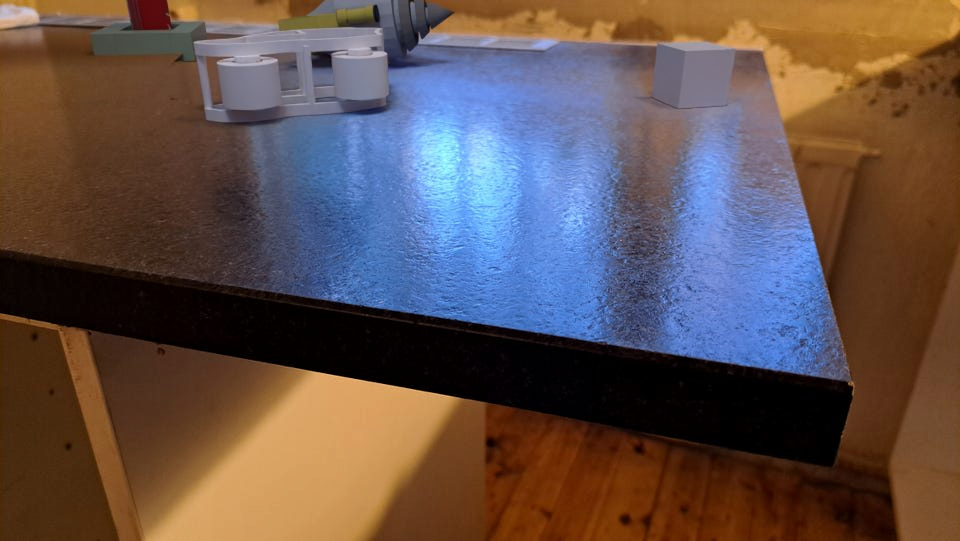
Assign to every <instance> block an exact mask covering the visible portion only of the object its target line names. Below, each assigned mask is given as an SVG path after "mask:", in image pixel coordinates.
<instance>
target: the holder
mask: <svg viewBox="0 0 960 541" xmlns="http://www.w3.org/2000/svg"><path fill="white" fill-rule="evenodd" d="M171 25H172V30H133V31H132V27H131V22H114V23H111V24H108V25H107V26H105V27H102V28H100V29H97V30H96V31H92V32H90V33H89V38H90V42H91V47H92V51H93V56H94V57H95V56H97V57H98V56H100V57H101V56H140V55H141V56H142V55H146V56H147V55H179V56H178V57H177V58H176V59H174V61H173V62H174V63H176V62H177V61H183V62H196V61H197V60H196V59H197V58H196V55H195V49H194V43H193V42H196V41H202V40H209V39H208V32H207V27H206V21H204V20H203V21H202V20H201V21H171ZM195 60H196V61H195Z"/></svg>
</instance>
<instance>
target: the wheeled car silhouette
mask: <svg viewBox="0 0 960 541" xmlns="http://www.w3.org/2000/svg"><path fill="white" fill-rule="evenodd" d="M193 43H194V49H195V55H196V58H197V60H196V64H197V68H198V74H199V75H198V76H199V80H200V88H201V93H202V100H203V106H204V109H203V110H204V115H205V116H204V117H205V120H206V121H209V122H210V121H211V122H216V123H248V122H260V121H261V122H262V121H269V120H270V121H271V120H275V119H281V118H287V117H299V116H300V117H301V116H315V115H316V116H317V115H318V116H319V115H330V114H331V115H332V114H341V113H342V114H343V113H352V112H357V111H363V110H369V109H375V108H382V107H385V106H387V97H388V96H389V95H390V82H389V81H390V80H389V64H388V58H387V53H386V52H384V36H383V28H351V27H348V28H323V29H302V30H290V31H280V30H275V31H269V32H263V33H255V34H248V35H243V36H239V37H230V38H218V39H217V38H215V39H208V40H202V41H196V42H193ZM376 46H377V51H376V50H371V48H369V47H376ZM334 50H347V51H340V52H335V53H333V54H331V55H330V57H331V68H332V69H331V70H332V82H333V85H328V86H327V85H326V86H315V85H314V84H315V83H314V73H313V62H312V53H311V52H314V51H334ZM285 53H286V54H288V53H295V61H296V62H295V64H296V72H297V81H298V88H296V89H288V90H282V86H281V85H282V84H281V74H280V67H279V59H277V58H276V57H271V56H264V55H273V54H285ZM262 55H263V56H262ZM206 57H211V58H212V57H213V58H214V57H215V58H219V57H220V58H223V59H219V60H217V61H216V68H217V75H218V82H219V88H220V95H221V101H222V103H217V104H214V102H213V96H212V91H211V84H210V83H211V82H210V78H209V72H208V71H209V70H208V64H207V59H206ZM225 57H227V58H225ZM228 57H230V58H228ZM322 98H338V99H341V100H335V101H334V100H333V101H322V102H316V99H322ZM342 99H343V100H342Z"/></svg>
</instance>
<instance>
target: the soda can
mask: <svg viewBox="0 0 960 541" xmlns="http://www.w3.org/2000/svg"><path fill="white" fill-rule="evenodd" d="M125 1H126V2H125V3H126V7H127V11H128V18H129V23H131V27H132V31H133V30H172V25H171V22H172V21H171V20H172V19H171V14H170V9H169V3H168V0H125Z"/></svg>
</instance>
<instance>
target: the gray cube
mask: <svg viewBox="0 0 960 541" xmlns="http://www.w3.org/2000/svg"><path fill="white" fill-rule="evenodd" d="M655 51H656V52H655V61H654V70H653V79H652V89H651V98H652V99H655V100H657V101H659V102H661V103H663V104H665V105H666V104H667V105H668V106H671V107H673V108H675V109H677V110H679V109H695V108H710V107H726V106H728V100H729V95H730V89H731V82H732V76H733V68H734V63H735V56H736V51H737V49H736V48H733V47H730V46H726V45H721V44H716V43H713V42H709V41H705V40H704V41H703V40H702V41H680V42H675V41H674V42H657V43H656V50H655Z"/></svg>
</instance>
